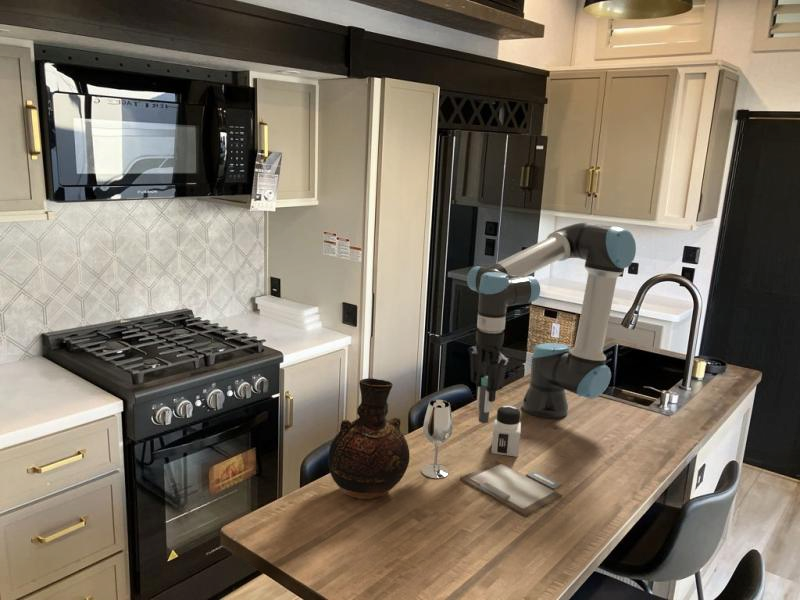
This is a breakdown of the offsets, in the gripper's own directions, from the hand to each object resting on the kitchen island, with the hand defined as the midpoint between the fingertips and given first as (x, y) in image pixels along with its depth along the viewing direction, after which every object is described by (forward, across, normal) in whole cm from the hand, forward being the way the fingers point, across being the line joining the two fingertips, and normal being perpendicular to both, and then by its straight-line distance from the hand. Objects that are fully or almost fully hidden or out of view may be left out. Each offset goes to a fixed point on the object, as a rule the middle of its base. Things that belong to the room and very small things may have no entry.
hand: (484, 409), depth 182 cm
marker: (+4, 0, 0) cm, 4 cm away
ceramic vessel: (+15, -5, -37) cm, 40 cm away
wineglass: (+15, -2, -16) cm, 22 cm away
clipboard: (+15, +16, -6) cm, 23 cm away
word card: (+15, +19, +4) cm, 25 cm away
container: (+15, +1, +10) cm, 18 cm away
